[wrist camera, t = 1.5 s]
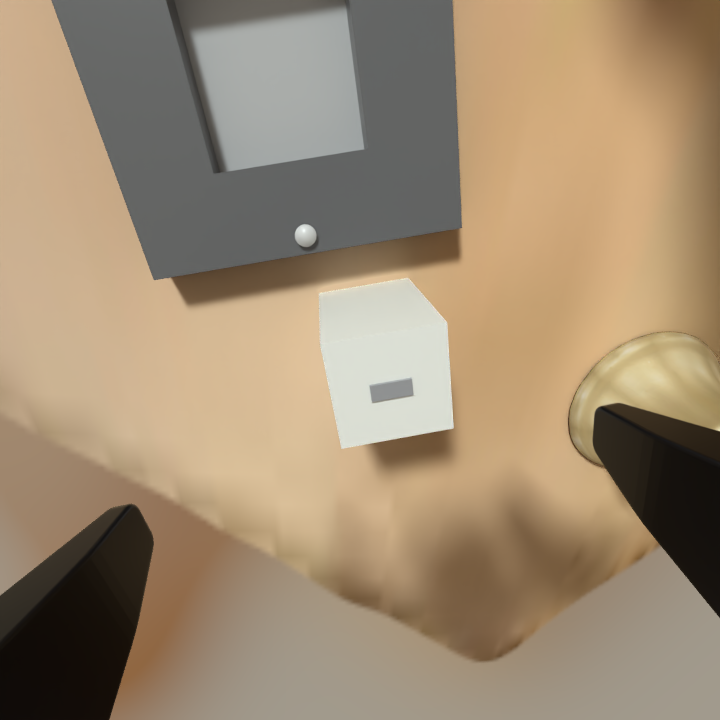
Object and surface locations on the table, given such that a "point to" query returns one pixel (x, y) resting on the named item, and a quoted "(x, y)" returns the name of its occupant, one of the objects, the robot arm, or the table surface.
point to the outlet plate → (272, 122)
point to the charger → (385, 362)
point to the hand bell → (650, 384)
